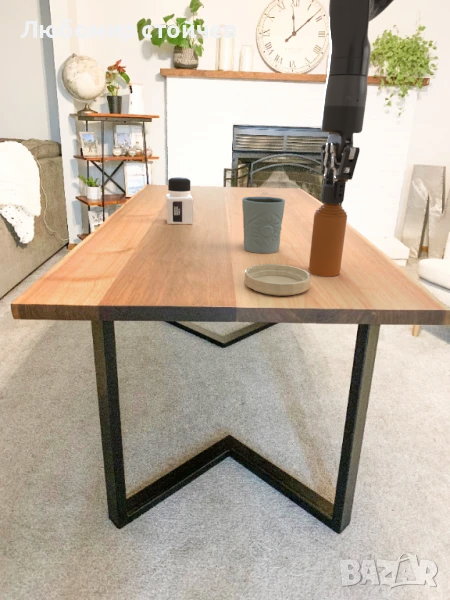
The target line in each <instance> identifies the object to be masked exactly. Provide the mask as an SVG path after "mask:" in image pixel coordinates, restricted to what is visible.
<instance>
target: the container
mask: <svg viewBox="0 0 450 600" xmlns="http://www.w3.org/2000/svg"><path fill="white" fill-rule="evenodd" d="M167 190H168V191H167V193H166V194H165V218H166V219H165V220H166V224H167V225H193V224H194V198H193V196H192V195H191V180H190V179H189V178H187V177H179V176H178V177H176V176H175V177H171V178H169V179H168V180H167Z"/></svg>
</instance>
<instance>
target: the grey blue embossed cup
mask: <svg viewBox="0 0 450 600" xmlns="http://www.w3.org/2000/svg"><path fill="white" fill-rule="evenodd" d="M285 203H286V200H285V199H284V198H281V197H273V196H245V197H243V198H242V199H241V205H242V223H243V224H242V225H243V249H244V251H247V252H249V253H253V254H274V253H277V252H278V251H279V250H280V244H281V233H282V232H281V231H282V225H283V220H284V219H283V218H284V212H285Z"/></svg>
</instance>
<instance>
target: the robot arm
mask: <svg viewBox="0 0 450 600" xmlns="http://www.w3.org/2000/svg"><path fill="white" fill-rule="evenodd" d="M394 1H395V0H329V4H328V5H329V6H328V26H329V27H328V28H329V29H328V30H329V43H330V50H329V51H330V52H329V56H328V57H329V58H328V68H327V77H326V82H325V86H324V93H323V102H322V110H321V112H322V113H321V121H320V131H321V132H323V133H328V137H327V140H326V144H321V145H320V175H321V176H323V179H324V184H333V189H332V197H331V201H332V202H339V203H341V202H342V203H343V202H344V199H345V192H346V185H347V183H348V181H352V180H353V177H354V174H355V173H354V172H355V169H356V166H357V163H358V159H359V155H360V150H361V149H360V147H357V146H354V134H360V133H362V132H363V126H364V118H365V112H366V105H367V98H368V97H367V96H368V77H369V70H370V63H371V55H372V54H371V53H372V47H371V42H370V40H369V24H370V22H371V21H373V20H374V19H376V18H377V17H379V15H381V14H382V13H383V12H384V11H385V10H387V8H388V7H389V6H390V5H391V4H392V3H393V2H394ZM342 203H341V204H342Z"/></svg>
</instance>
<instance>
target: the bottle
mask: <svg viewBox="0 0 450 600" xmlns="http://www.w3.org/2000/svg"><path fill="white" fill-rule="evenodd" d="M347 221H348V214H347V212H346V211H345V209H344V208H343V206H341V204H329V203H324V202H322V205H320V207H318V208H317V209H316V210H315V212H314V214H313V223H312V233H311V242H310V254H309V263H308V273H309V274H311V275H315V276H319V277H326V278H327V277H337V276H339V275H340V274H341V269H342V259H343V252H344V243H345V235H346V230H347V229H346V228H347Z"/></svg>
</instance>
